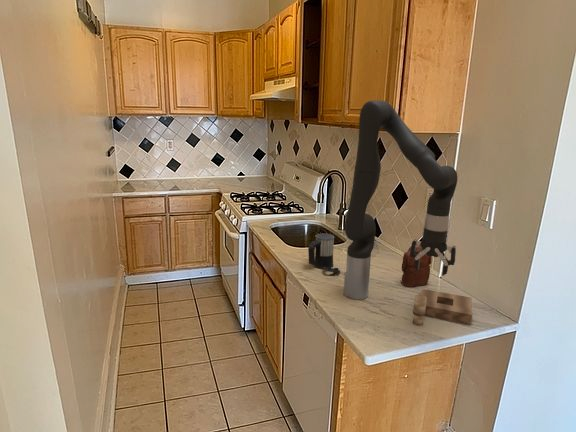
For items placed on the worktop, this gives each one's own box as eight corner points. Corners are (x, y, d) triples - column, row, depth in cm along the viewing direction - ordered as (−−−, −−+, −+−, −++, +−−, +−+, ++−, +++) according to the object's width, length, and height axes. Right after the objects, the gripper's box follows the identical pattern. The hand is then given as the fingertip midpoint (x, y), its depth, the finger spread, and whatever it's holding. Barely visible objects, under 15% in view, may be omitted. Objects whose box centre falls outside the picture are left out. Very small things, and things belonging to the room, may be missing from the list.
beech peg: (411, 324, 135) (413, 298, 133) (412, 318, 139) (415, 293, 136) (423, 326, 134) (426, 300, 131) (424, 321, 137) (427, 295, 135)
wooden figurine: (420, 279, 171) (425, 240, 166) (430, 285, 165) (434, 245, 160) (397, 282, 168) (401, 243, 163) (406, 289, 162) (410, 248, 157)
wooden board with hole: (416, 314, 142) (417, 304, 141) (420, 297, 154) (421, 288, 153) (470, 325, 135) (472, 314, 134) (470, 307, 147) (471, 297, 146)
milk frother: (320, 260, 192) (321, 231, 188) (349, 267, 183) (351, 238, 179) (305, 269, 180) (305, 239, 176) (335, 278, 172) (336, 246, 168)
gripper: (411, 226, 128) (406, 271, 132) (458, 233, 121) (451, 280, 126) (416, 220, 134) (411, 264, 139) (460, 227, 128) (453, 272, 132)
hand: (430, 272), depth 132 cm, fingers open, 8 cm apart
